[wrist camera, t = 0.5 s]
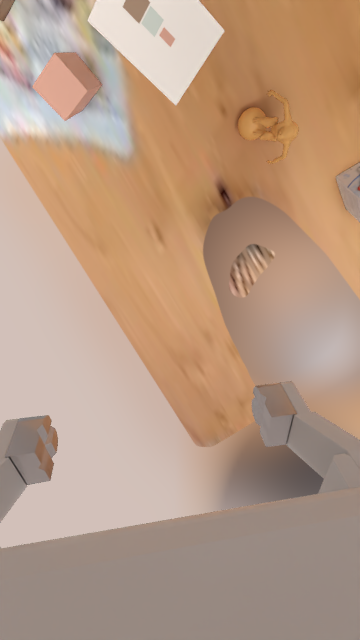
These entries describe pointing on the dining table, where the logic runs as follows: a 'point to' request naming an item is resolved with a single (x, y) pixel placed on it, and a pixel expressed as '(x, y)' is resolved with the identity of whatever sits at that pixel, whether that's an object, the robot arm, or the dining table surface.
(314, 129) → the dining table surface
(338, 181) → the light bulb box
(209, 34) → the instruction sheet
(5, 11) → the brick base
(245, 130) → the figurine
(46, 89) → the tall brick
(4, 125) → the dining table surface
